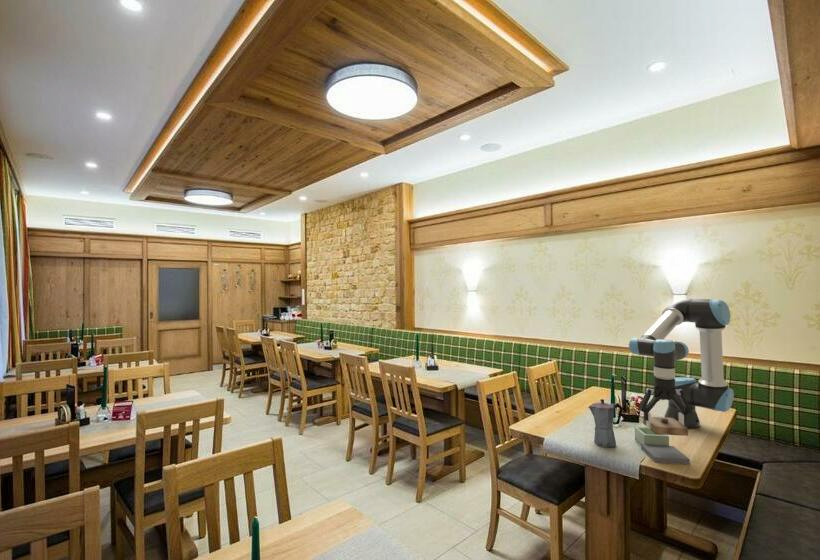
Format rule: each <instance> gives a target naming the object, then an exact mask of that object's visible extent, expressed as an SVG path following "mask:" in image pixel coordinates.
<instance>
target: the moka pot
mask: <svg viewBox="0 0 820 560" xmlns="http://www.w3.org/2000/svg"><path fill="white" fill-rule="evenodd" d="M587 408H588V409H589V411H590V413H591V414H592V416H593V420H594V425H595V426H594V437H593V438H594V439H593V440H594V441H593V442H594V444H595V445H596V444H597V445H596V446H598V445H599V446H598V447H602V448H613V447H616V445H617V442H616V437H615V433H614V431H615V430H614V426H613V425H619V424H620V421H621V417H622V414H623V409H624V408H623V407H622V405H620V403H619V402H616V403H607V402H605V399H602V398H601V399H600V402H593V403H591V404H589V406H588V407H587ZM617 408H619V410H618V417H617V420H616V422H614V415H615V413H614V412H615V409H617Z"/></svg>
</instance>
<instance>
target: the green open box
mask: <svg viewBox="0 0 820 560" xmlns="http://www.w3.org/2000/svg"><path fill="white" fill-rule="evenodd" d="M634 440H635V441H636V443H638V444H639V445H640V446H641V444H645V445H663V446H670V435H660V434H655V433H654V432H653V431H651V430H650V429H648V428H647V427H646V426H634Z"/></svg>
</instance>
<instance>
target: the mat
mask: <svg viewBox="0 0 820 560" xmlns="http://www.w3.org/2000/svg"><path fill="white" fill-rule="evenodd" d="M640 449H641V451H643V452H644V453H645V454H646V455H647V456H648V457H649V458H650V459H651V460H652V461H653V462H654V463H664V464H677V465H679V464H681V465H690V464H691V459H690V458H689V457H688V456H687V455H686V454H684V453H683V452H681V451H680V450H679V449H677V448H676V447H675V446H674V445H669V446H663V445H645V444H641V445H640Z"/></svg>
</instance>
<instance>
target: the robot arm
mask: <svg viewBox="0 0 820 560" xmlns="http://www.w3.org/2000/svg"><path fill="white" fill-rule="evenodd" d="M730 322H731V311H730V308H729V306H728V304H727V303H726V302H725V301H724V300H721V299H713V298H712V299H711V298H683V299H680V300H677V301H675V302H673V303H671V304H670V305H668V306H667V307H666V308H664V310H663V311H662V312H661V316H660V317H659V318H657V320H656V321H655V322H654V323H652V325H651V326H650V327H649V328H648V330H646V331H645V332H644V333H643V335H642V336H641V337H633V338H631V339H630V340H629V342H628V349H629V351H630V353H631V354H632V355H633V354H634V355H638V356H645V357H650V358H651V357H653V376H654V377H653V388H648V387H646V388H645V393H644V395H643V397H642V399H641V402H640V405H639V406H638V410H639V411H641V412H643V417H644V420H646V425H645V427H647V428H648V429H651V417H652V416H651V413H650V411H651V410H652V409H653V408H654V407H655V405H657V403H658V402H659V401H660V400H661V401H667V402H668V403H667V404H668V405H667V409H666V411H665V414H664V418H674V419H675V420H677V421H678V422H680V423H681V424H683V425H684V426H686V427H687V428H688V429H696V428H699V427H700V426H701V425H700V424H701V422H700V418H699V416H698V412H697V409H696V407H699V408H704V409H709V410H711V411H715V412H722V413H726V412H728V411H729V410H730V409H731V407H732V405H733V401H734V396H735V394H734V393H735V392H734V389H733V388H730V387H729V383H728V382H727V380H725V379H724V378H725V377H724V359H723V358H724V355H723V336H722V335H723V333H722V331H723V330H725V329H726V326H727V325H730ZM682 323H695V328H696V329H697V330H698V331H699V347H700V349H699V350H700V369H701V370H700V372H701V373H700V374H701V378H700V379H698V381H697V380H696V378H692V377H683V376H682V377H681V376H679V377H677V376H676V361H680V360H683V359H685V358H686V357H687V356H688V355H689V348H688V346H687V344H686V343H684V342H682V341H673V340H671V339H665V338H666V337H668V335H670V333H671V332H672V331H673V330H674V329H675V328H676V327H677V326H679V325H681V324H682ZM653 394H654V395H653ZM652 395H653V396H652ZM651 396H652V398H651ZM649 400H650V401H649Z"/></svg>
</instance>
